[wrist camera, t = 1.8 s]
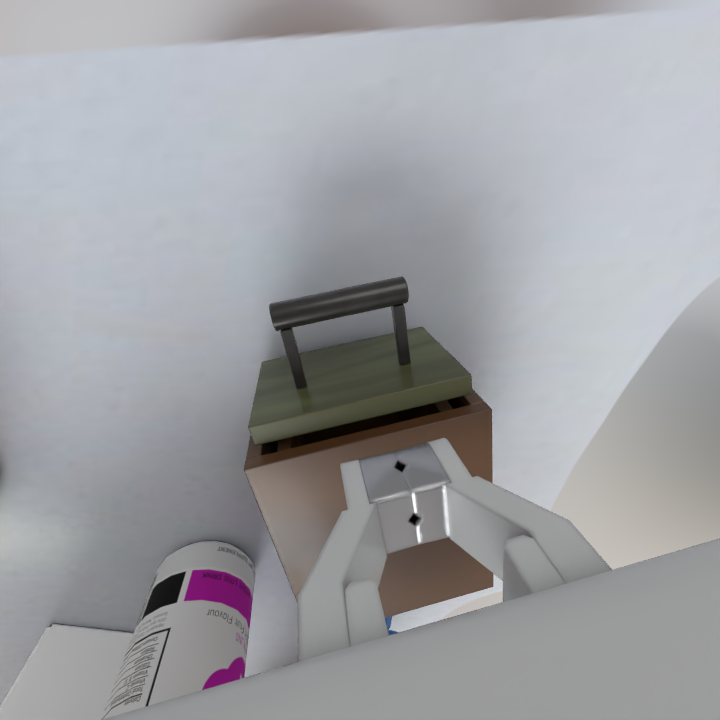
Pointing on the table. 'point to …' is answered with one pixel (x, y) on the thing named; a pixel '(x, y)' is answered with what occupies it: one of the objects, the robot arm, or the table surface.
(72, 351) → the table surface
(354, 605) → the robot arm
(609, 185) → the table surface
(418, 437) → the cabinet
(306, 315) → the drawer
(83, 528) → the table surface
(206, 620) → the supplement can
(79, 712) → the gable box
